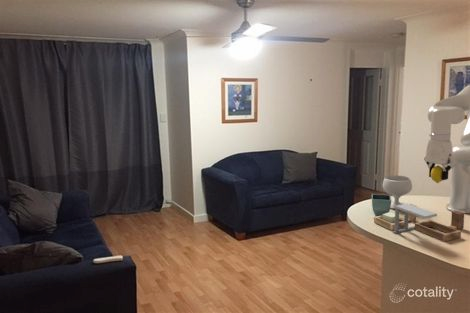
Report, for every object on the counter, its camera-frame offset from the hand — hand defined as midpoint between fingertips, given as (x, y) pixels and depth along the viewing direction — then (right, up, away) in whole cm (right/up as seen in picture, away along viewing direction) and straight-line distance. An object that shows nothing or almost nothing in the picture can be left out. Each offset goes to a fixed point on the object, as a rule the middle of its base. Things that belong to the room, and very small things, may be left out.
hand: (438, 177), depth 167 cm
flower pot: (-18, -19, +19) cm, 32 cm away
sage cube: (-19, -22, +5) cm, 29 cm away
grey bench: (-9, -23, -7) cm, 26 cm away
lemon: (0, -3, 0) cm, 3 cm away
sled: (-15, -21, +7) cm, 26 cm away
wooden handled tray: (0, -22, -5) cm, 23 cm away
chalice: (-6, -17, +30) cm, 34 cm away
